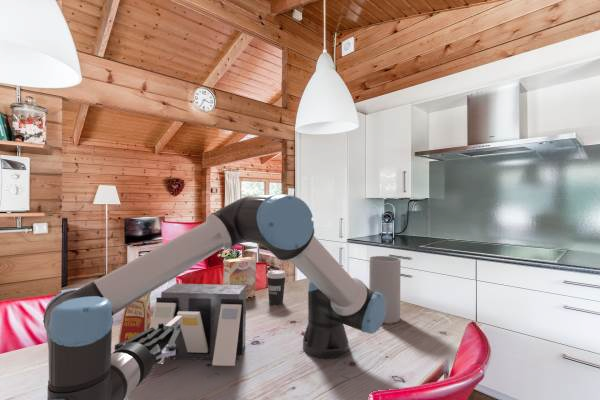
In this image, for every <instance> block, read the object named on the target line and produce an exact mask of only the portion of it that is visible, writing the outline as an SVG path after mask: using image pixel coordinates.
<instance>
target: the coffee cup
mask: <svg viewBox="0 0 600 400" xmlns="http://www.w3.org/2000/svg"><path fill="white" fill-rule="evenodd" d="M286 277H287V274H286V273H285V271H284V270H280V269H273V270H268V272H267V273H266V278H267V279H266V280H267V290H268V303H269V305H270V306H274V305H277V306H281V305H283V303H284V293H285V284H286V283H285V282H286Z"/></svg>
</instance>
